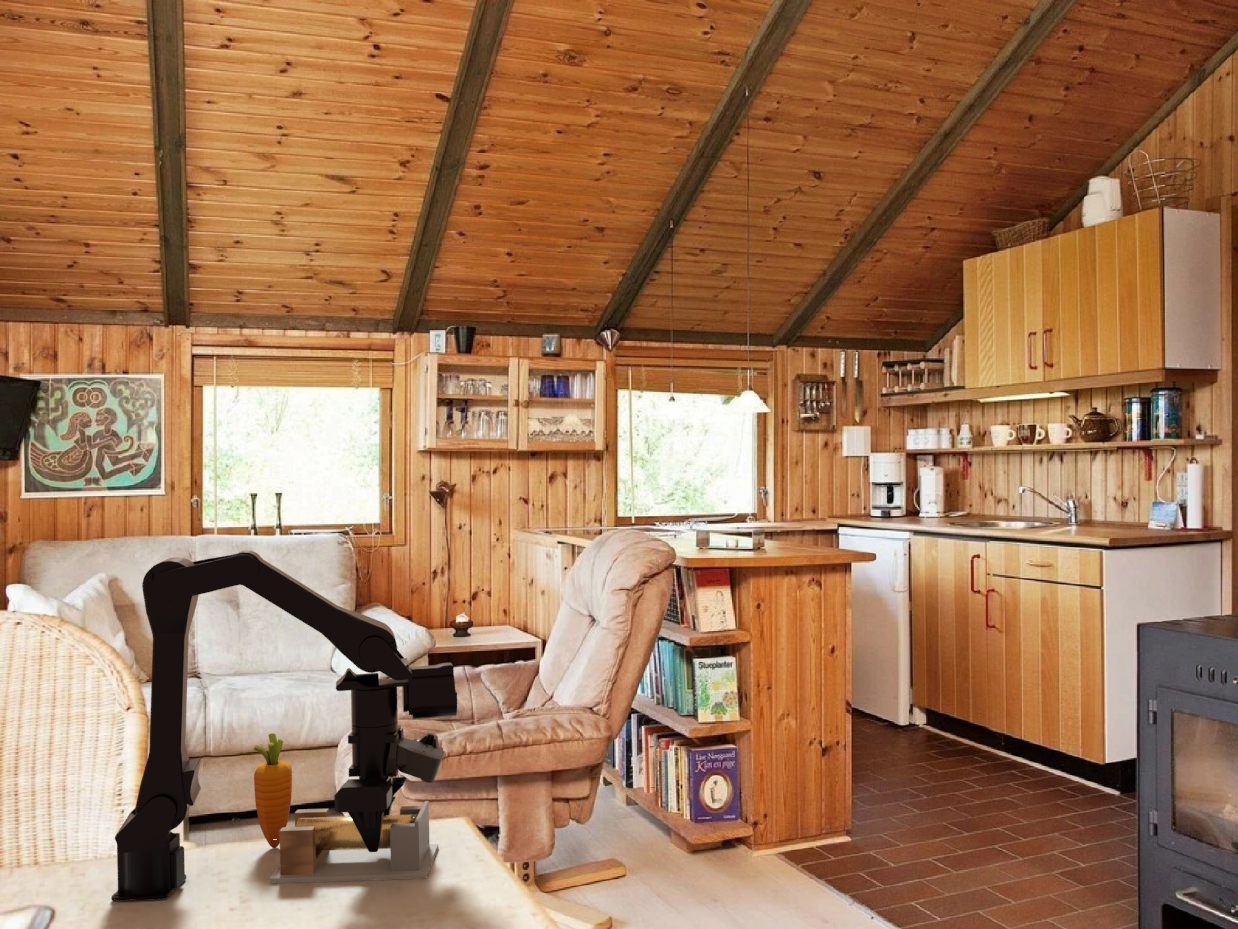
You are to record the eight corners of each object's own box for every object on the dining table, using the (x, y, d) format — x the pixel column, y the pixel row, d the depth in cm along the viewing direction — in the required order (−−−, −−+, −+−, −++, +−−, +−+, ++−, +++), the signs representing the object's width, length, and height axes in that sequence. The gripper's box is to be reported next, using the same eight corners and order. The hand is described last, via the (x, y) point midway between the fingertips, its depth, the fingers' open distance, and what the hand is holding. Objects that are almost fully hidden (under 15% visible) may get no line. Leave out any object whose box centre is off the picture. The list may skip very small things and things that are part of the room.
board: (269, 883, 127) (269, 878, 127) (293, 853, 137) (292, 848, 137) (426, 878, 127) (426, 873, 127) (438, 848, 137) (438, 844, 137)
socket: (391, 871, 128) (389, 822, 128) (402, 847, 136) (401, 801, 136) (419, 870, 128) (418, 821, 128) (429, 847, 136) (428, 801, 136)
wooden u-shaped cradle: (280, 875, 128) (279, 831, 128) (298, 851, 136) (297, 809, 136) (313, 874, 128) (312, 830, 128) (329, 850, 136) (328, 808, 136)
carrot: (282, 856, 136) (279, 741, 136) (247, 854, 137) (245, 739, 137) (301, 842, 141) (298, 731, 141) (267, 840, 142) (265, 730, 142)
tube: (294, 856, 130) (294, 824, 130) (303, 844, 134) (303, 813, 134) (415, 852, 130) (415, 820, 130) (421, 841, 134) (420, 810, 134)
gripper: (427, 740, 123) (429, 872, 123) (448, 704, 142) (450, 819, 142) (332, 742, 123) (334, 875, 123) (366, 706, 141) (368, 821, 141)
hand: (377, 845), depth 132 cm, fingers closed on tube, 4 cm apart
